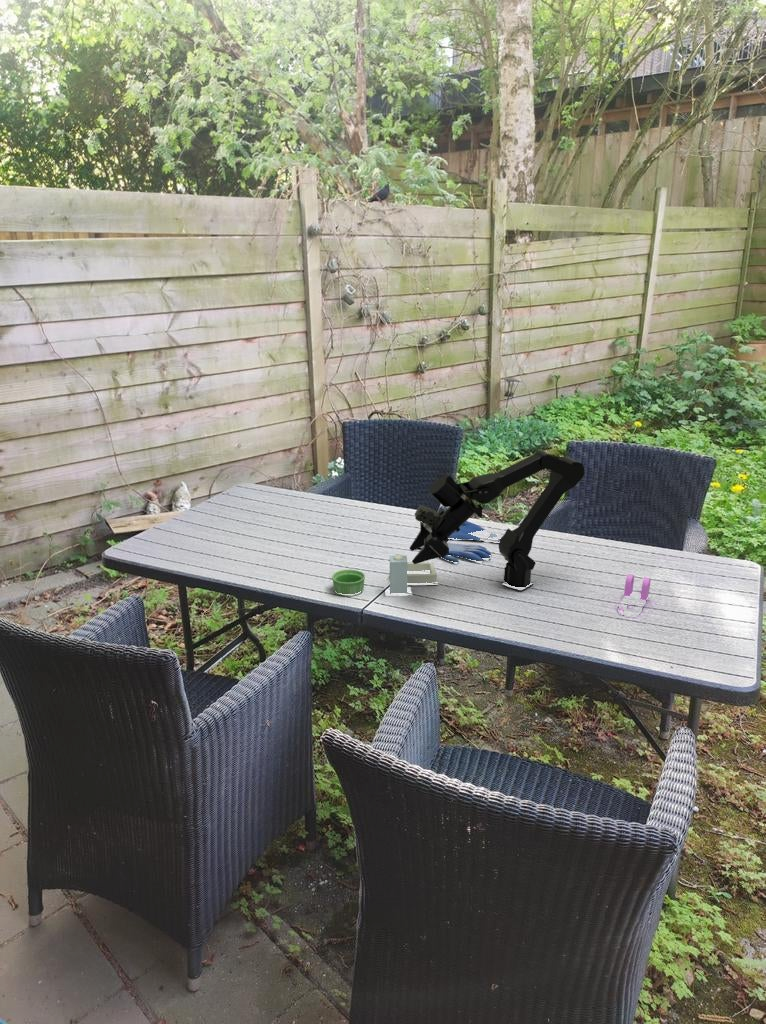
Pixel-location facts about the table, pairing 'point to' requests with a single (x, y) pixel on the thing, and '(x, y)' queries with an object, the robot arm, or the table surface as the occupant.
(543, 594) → the table surface
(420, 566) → the pocket tray
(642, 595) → the bracket
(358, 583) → the ramekin
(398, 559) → the block
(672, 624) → the table surface
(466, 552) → the pair of gloves
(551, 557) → the table surface
